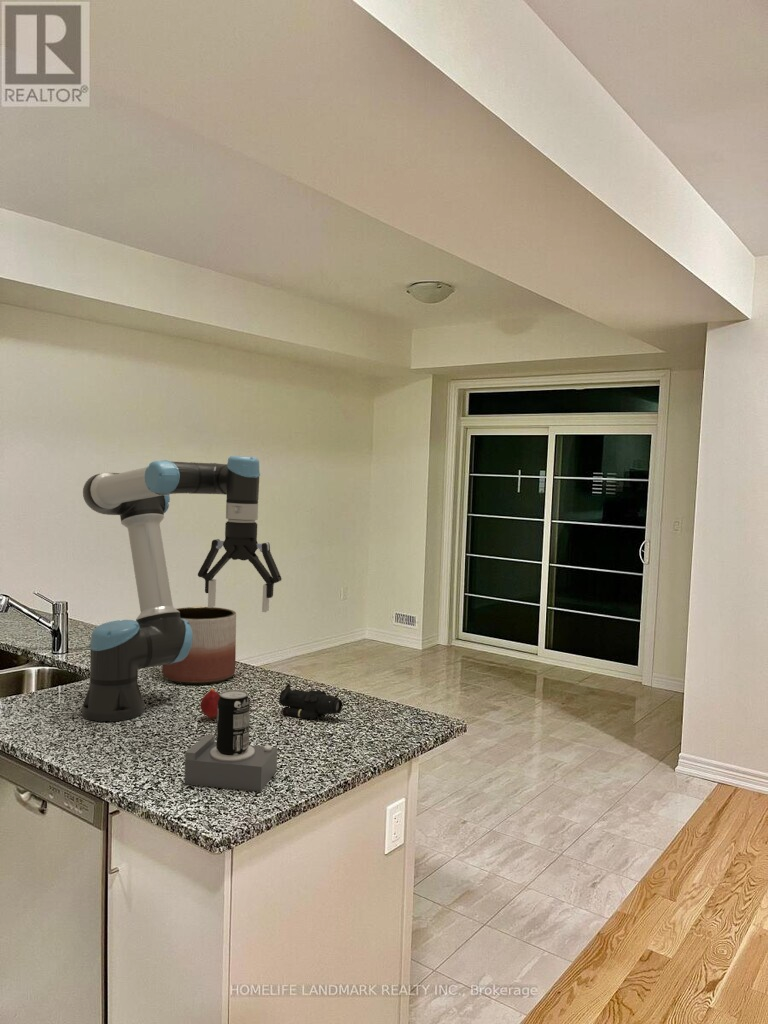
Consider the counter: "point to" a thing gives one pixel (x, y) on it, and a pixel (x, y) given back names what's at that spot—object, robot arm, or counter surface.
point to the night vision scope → (308, 703)
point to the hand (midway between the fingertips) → (238, 609)
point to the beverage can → (233, 722)
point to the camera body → (229, 766)
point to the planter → (206, 647)
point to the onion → (210, 704)
